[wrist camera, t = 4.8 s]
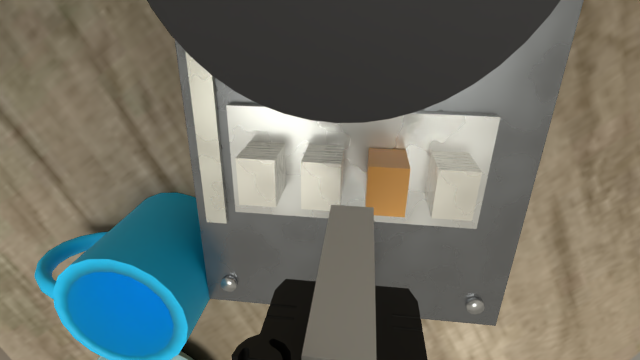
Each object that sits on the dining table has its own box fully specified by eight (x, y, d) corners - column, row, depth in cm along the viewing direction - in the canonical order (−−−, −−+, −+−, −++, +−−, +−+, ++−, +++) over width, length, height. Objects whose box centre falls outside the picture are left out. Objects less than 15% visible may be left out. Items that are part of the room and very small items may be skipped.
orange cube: (368, 148, 19) (368, 166, 17) (405, 150, 19) (410, 169, 17) (365, 191, 20) (365, 214, 18) (400, 194, 20) (404, 217, 18)
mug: (231, 198, 28) (182, 269, 20) (234, 287, 31) (192, 375, 24) (75, 180, 29) (-27, 240, 21) (94, 268, 32) (12, 347, 25)
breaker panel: (205, -46, 21) (121, -71, 14) (546, -45, 20) (650, -73, 12) (233, 253, 30) (190, 333, 22) (474, 273, 28) (512, 367, 21)
